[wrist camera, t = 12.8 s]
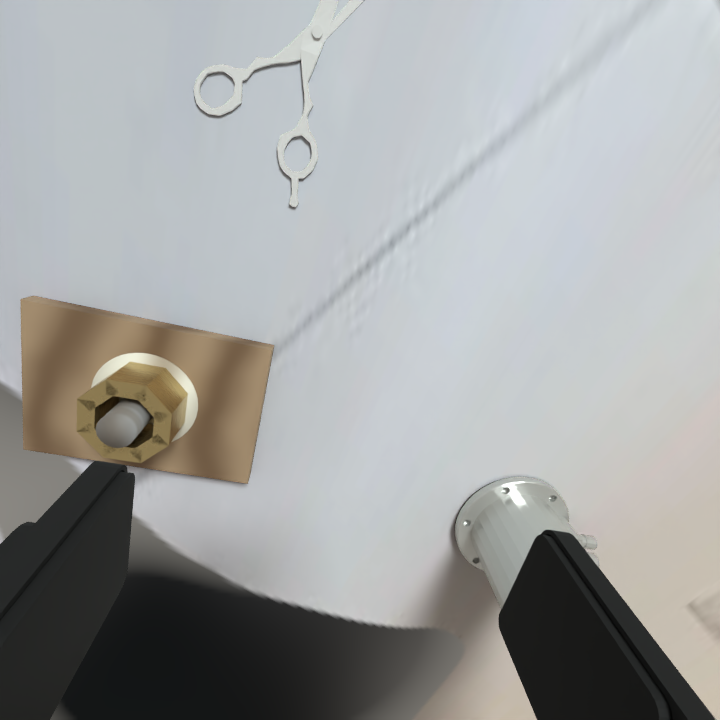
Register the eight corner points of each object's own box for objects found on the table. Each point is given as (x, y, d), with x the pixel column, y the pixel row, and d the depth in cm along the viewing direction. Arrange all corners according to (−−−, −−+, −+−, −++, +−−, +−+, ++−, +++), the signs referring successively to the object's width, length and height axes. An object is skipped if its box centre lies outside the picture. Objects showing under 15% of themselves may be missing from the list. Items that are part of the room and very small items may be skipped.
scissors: (175, 114, 30) (337, -170, 26) (179, 117, 31) (337, -160, 26) (294, 208, 33) (459, -33, 28) (295, 208, 34) (456, -27, 29)
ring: (190, 372, 35) (173, 391, 32) (182, 441, 38) (166, 466, 34) (104, 356, 34) (77, 374, 31) (101, 429, 37) (76, 453, 33)
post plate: (274, 345, 37) (262, 373, 30) (250, 474, 41) (235, 523, 35) (33, 295, 34) (-38, 315, 27) (34, 440, 38) (-27, 487, 32)
